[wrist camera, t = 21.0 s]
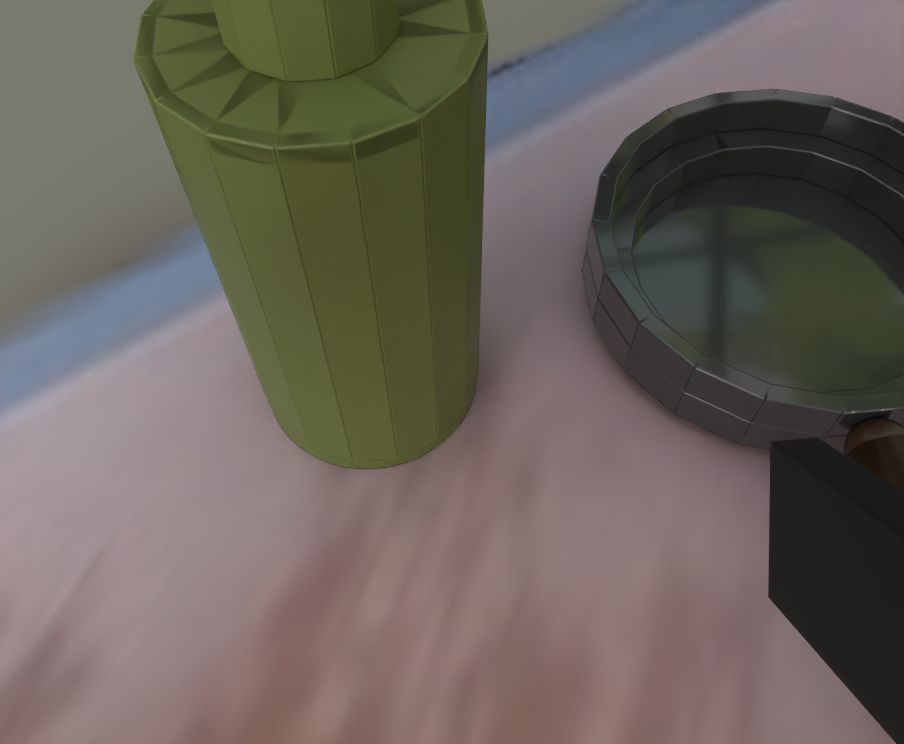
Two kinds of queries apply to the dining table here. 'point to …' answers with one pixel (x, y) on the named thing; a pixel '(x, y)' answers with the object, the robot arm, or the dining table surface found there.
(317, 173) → the oil bottle
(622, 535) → the dining table surface
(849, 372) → the pan
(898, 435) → the pan handle
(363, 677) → the dining table surface
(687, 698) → the dining table surface
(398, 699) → the dining table surface
